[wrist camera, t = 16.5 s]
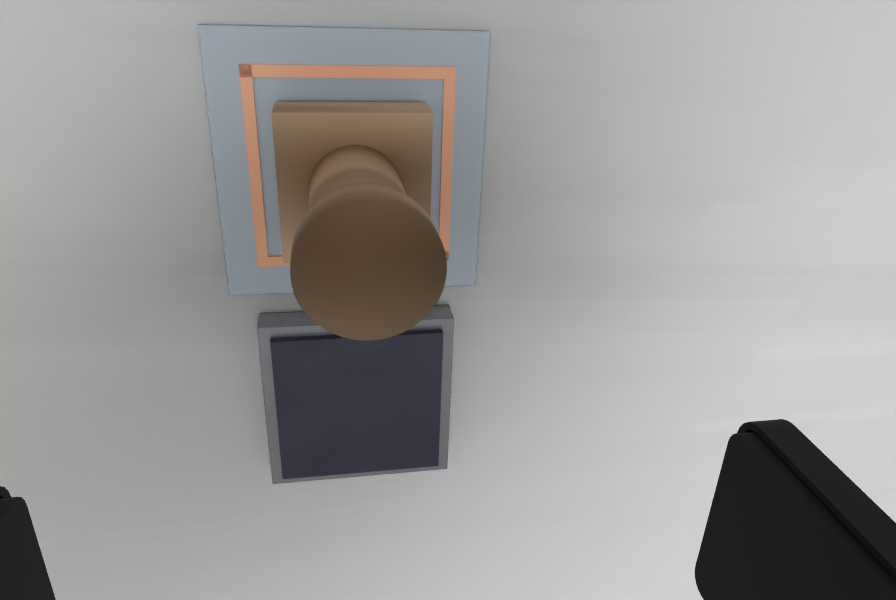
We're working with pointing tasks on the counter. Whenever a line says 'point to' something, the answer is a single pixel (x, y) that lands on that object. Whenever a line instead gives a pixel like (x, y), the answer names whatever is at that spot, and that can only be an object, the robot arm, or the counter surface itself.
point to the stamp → (358, 213)
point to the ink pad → (355, 398)
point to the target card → (339, 80)
